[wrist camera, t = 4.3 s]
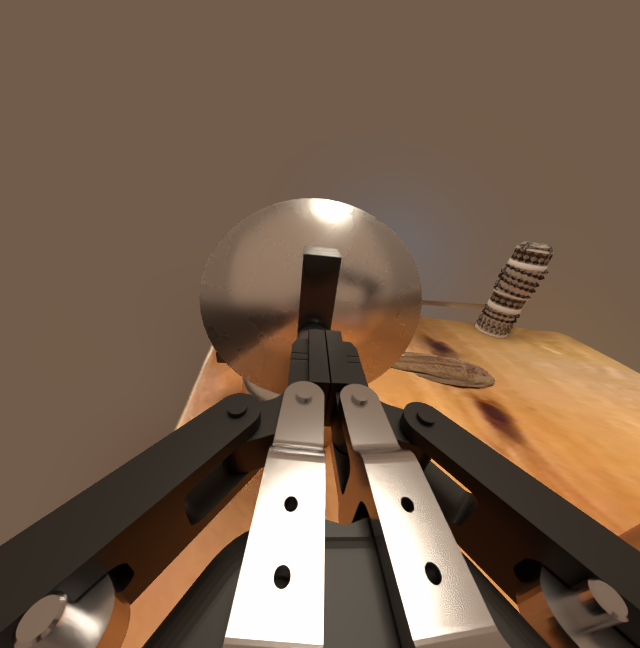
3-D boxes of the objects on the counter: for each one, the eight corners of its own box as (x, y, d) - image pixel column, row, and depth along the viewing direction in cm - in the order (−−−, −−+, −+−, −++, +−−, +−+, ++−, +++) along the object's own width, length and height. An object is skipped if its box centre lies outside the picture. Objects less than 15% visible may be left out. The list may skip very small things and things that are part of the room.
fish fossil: (372, 374, 47) (373, 370, 47) (366, 348, 57) (367, 344, 56) (502, 390, 47) (504, 386, 46) (475, 361, 56) (477, 357, 56)
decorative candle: (512, 342, 65) (569, 250, 53) (474, 332, 68) (520, 242, 56) (505, 328, 72) (554, 244, 60) (472, 319, 75) (512, 238, 63)
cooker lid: (386, 393, 26) (403, 436, 21) (217, 384, 24) (196, 429, 20) (448, 214, 17) (498, 223, 13) (189, 182, 16) (139, 179, 11)
